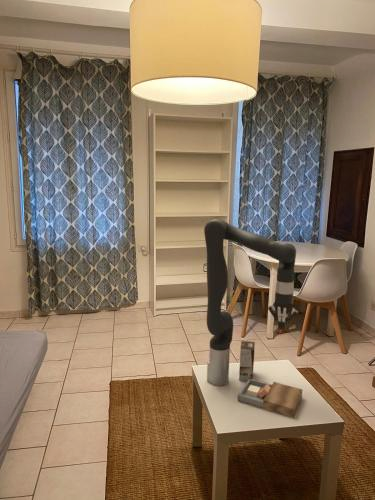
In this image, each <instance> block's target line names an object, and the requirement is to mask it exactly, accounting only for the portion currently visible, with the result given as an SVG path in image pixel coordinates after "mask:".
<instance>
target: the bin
mask: <svg viewBox="0 0 375 500" xmlns="http://www.w3.org/2000/svg"><path fill="white" fill-rule="evenodd" d="M267 384H268V385H269V386H270V387H271V386H272V384H273V383H272V384H271V383H267V382H263V381H260V380H256V379H253V378H252V379H250V378H249V380H248V381H246V383H245V384H244V386H243V387H242V389H241V390H240V391H239V392H238V395H237V402H239V403H243V404H245V405H249V406H253V407H255V408H259V409H261V410H264V409H263V400H264V398H265V397H266V395H267V394H266V395H265V396H263V397H262V398H260V397H259V396H257V397H256V396H252V395H249V394H247V390H248V388H249V386H250V385H253V386H256V387H260V390H261V389H262V388H263V387H264V386H266V385H267Z"/></svg>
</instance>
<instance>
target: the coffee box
mask: <svg viewBox="0 0 375 500" xmlns="http://www.w3.org/2000/svg"><path fill="white" fill-rule="evenodd" d="M255 343H256V342H255V341H248V340H247V341H244V340H241V341H240V351H239V352H240V353H239V354H240V356H239V372H238V376H239V377H238V381H240V382H241V381H243V382H247V381H248V380H249V378H250V379H253V377H254V367H255V366H254V363H255V345H256V344H255Z"/></svg>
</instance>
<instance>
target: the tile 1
mask: <svg viewBox="0 0 375 500" xmlns="http://www.w3.org/2000/svg"><path fill="white" fill-rule="evenodd" d="M259 392H260V387H256V386H253V385H250V386H249V388H248V390H247V394H249V395H252V396H256V397H257V396H258V393H259Z"/></svg>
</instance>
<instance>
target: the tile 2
mask: <svg viewBox="0 0 375 500" xmlns="http://www.w3.org/2000/svg"><path fill="white" fill-rule="evenodd" d="M268 384H269V383H268ZM268 384H267V385H266V386H264V387H263V388H262V389H261V390H260V392H259V393H258V396H259V397H260V398H262V397H263V396H265V395H266V394H267V393H268V392H269V390H270V388H271V387H270V386H269V385H268Z"/></svg>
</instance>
